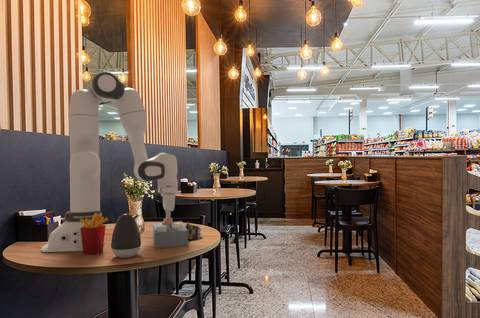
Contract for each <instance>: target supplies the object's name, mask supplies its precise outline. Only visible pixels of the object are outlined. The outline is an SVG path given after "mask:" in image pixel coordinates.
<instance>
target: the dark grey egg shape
mask: <svg viewBox="0 0 480 318" xmlns="http://www.w3.org/2000/svg"><path fill="white" fill-rule="evenodd" d="M138 217H139V214H138V213H136V214H134V215H132V214H129V213H123V214H121V215H119V217H118V218H117V220H116V222H115V224H114V227H113V231H112V234H111V235H112V236H111V242H110V244H111V245H110V247H111V250H112V253H113V255H114V256H116V257H117V258H121V259H128V258H132V257H135V256H136V255H137V254H138V253H139V252H140V249H141V246H142V239H141V233H140V229H139V226H138V223H137V221H136V219H137V218H138Z"/></svg>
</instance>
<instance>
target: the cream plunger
mask: <svg viewBox="0 0 480 318" xmlns="http://www.w3.org/2000/svg"><path fill="white" fill-rule="evenodd" d="M180 227H181V223H173V224H172V228H180Z"/></svg>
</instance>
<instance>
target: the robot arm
mask: <svg viewBox="0 0 480 318" xmlns="http://www.w3.org/2000/svg"><path fill="white" fill-rule="evenodd" d="M110 103H113V104H114V105H115V106H116V108H117V111H118V115H119V119H120V122H121V125H122V128H123V130H124V132H125V135H126V137H127V138H128V141H129V146H130V149H131V153H132V158H133V165H132V166H133V167H132V174H133V175H132V176H133V177H134V178H135V180H137V181H139V182H141V183H151V182H154V181H157V193H160V196H161V197H162V206H163V209H164V211H165V218H166V219H170V218H171V213H172V212H173V211H174V210H175V202H176V194H177V192H178V189H179V187H178V185H179V184H178V183H179V182H178V178H177V177H178V161H177V157H176V156H175V154H173V153H169V152H159V153H158V154H156V155H155V156H153V157H151V158H149V157H148V154H147V153H148V152H147V149H146V146H145V145H146V144H145V135H146V130H147V129H148V118H147V113H146V109H145V107H144V106H145V105H144V103H143V101H142V99H141V96H140V94H139V92H138V90H136V89H134V88H131V87H125V84H123V83H122V81H120V79H119V77H117V76H116V75H115V74H114V73H111V72H109V71H101V72H98V73H97V74H95V76H94V77H93V78H92V81H91V83H90V86H89V88H87V89H84V88H83V89H77V90H74V91H72V94H71V95H70V101H69V108H68V109H69V111H68V118H69V119H68V121H69V123H68V124H69V127H68V128H69V130H68V131H69V151H70V153H69V154H70V158H69V159H70V160H69V189H70V191H69V192H70V193H69V195H70V197H69V198H70V199H69V205H70V207H69V208H70V209H69V211H67V212H66V213H65V214H64V222H63V223H62V224H60V225H59V226H58V227H56V228H55V229H53V231H51V232H50V234H49V236H48V241H47V242H48V243H46V244H44V245H43V246H42V247H41V252H42V253H58V252H59V253H61V252H63V253H65V252H83V246H82V238H81V230H80V228H82V227H84V224H83V223H82V222H81V221H80V219H83V220H84V221H85V218H87V219H88V220H89V219H90V220H92V217H93V215H94V214H95V213H97V214H99V215H102V209H101V160H100V159H101V158H100V121H99V120H100V119H99V118H100V117H99V109H100V108H99V107H100V106H102V105H106V104H110ZM96 222H97V220H96ZM87 223H88V224H89V225H91V223H90V222H89V221H87ZM95 224H96V223H95Z"/></svg>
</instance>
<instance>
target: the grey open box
mask: <svg viewBox="0 0 480 318" xmlns="http://www.w3.org/2000/svg"><path fill="white" fill-rule="evenodd" d="M173 223H181V227H180V228H172V224H170V225H164V222H153V223H152V237H153V244H154V249H161V248H174V247H186V246H189V240H188V230H187V229H186V225H185V224H184V223H183V222H182V221H173ZM157 227H167V232H157Z"/></svg>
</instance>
